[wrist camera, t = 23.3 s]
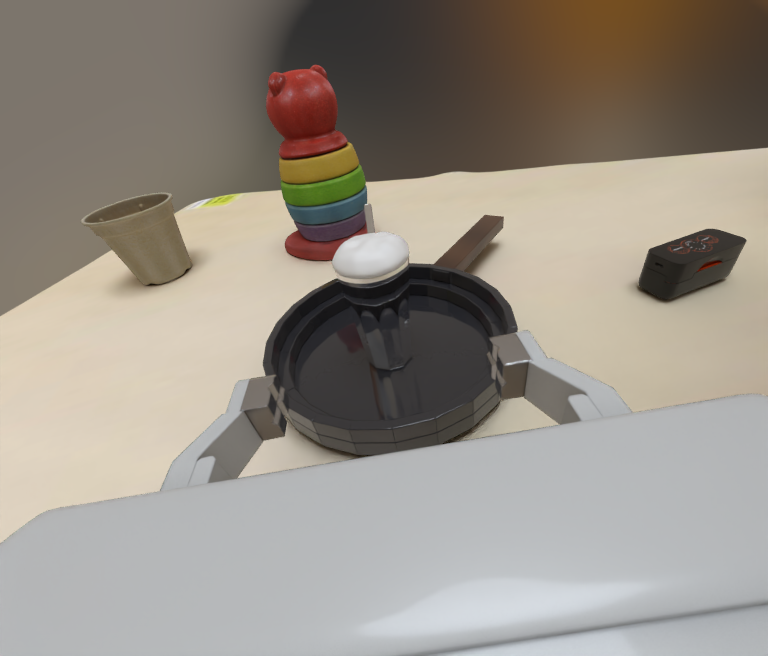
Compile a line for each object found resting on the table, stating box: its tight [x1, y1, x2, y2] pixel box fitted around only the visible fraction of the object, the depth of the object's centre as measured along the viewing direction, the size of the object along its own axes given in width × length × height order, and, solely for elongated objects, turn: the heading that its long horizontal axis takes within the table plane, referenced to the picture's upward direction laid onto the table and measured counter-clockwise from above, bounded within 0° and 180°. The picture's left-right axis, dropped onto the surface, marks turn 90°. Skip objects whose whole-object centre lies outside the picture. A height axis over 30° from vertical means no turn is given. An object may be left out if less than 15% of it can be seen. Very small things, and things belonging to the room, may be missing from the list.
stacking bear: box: [266, 65, 368, 260], centre depth 39 cm, size 11×10×18 cm
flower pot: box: [81, 193, 192, 285], centre depth 43 cm, size 9×9×9 cm
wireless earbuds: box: [638, 229, 746, 299], centre depth 28 cm, size 5×7×3 cm, turn 109°
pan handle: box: [432, 215, 504, 283], centre depth 33 cm, size 12×2×1 cm, turn 144°
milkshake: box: [332, 204, 412, 370], centre depth 23 cm, size 4×5×10 cm
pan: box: [263, 263, 518, 455], centre depth 26 cm, size 17×17×3 cm
